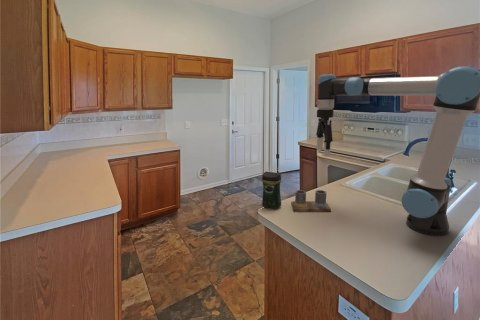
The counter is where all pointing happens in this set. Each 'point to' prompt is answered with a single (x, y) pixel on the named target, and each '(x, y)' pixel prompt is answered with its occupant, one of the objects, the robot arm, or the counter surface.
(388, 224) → the counter surface
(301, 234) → the counter surface
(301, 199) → the sleeve ochre
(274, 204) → the coffee jar
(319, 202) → the grey octagonal sleeve
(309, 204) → the pin board
